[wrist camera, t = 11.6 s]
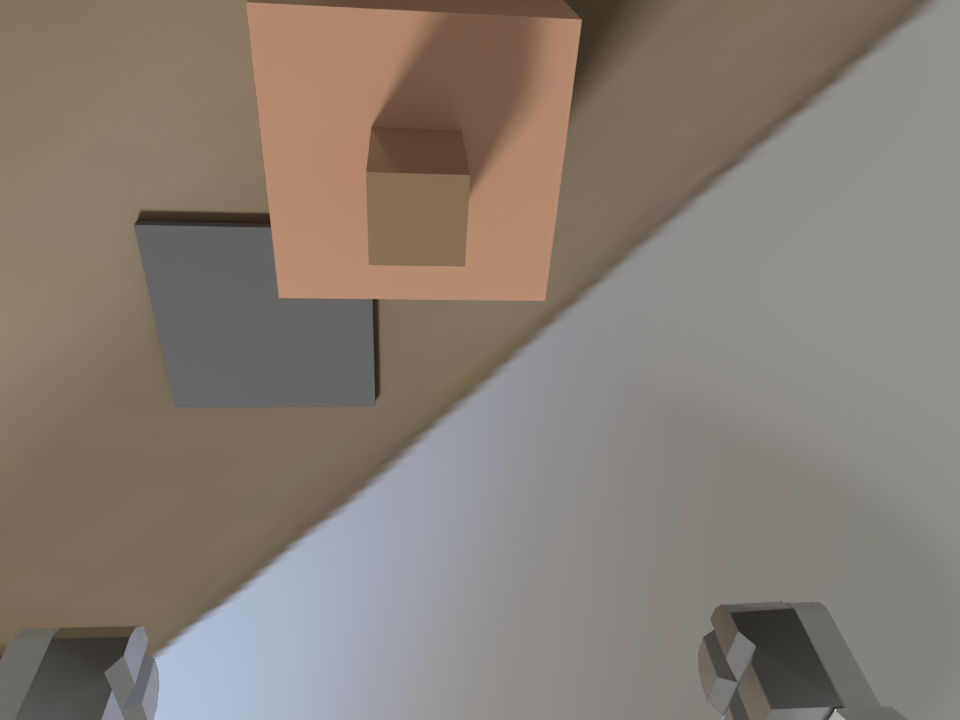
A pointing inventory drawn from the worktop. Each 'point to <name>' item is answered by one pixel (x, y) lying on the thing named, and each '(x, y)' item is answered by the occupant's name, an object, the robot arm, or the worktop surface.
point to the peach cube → (413, 144)
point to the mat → (249, 323)
